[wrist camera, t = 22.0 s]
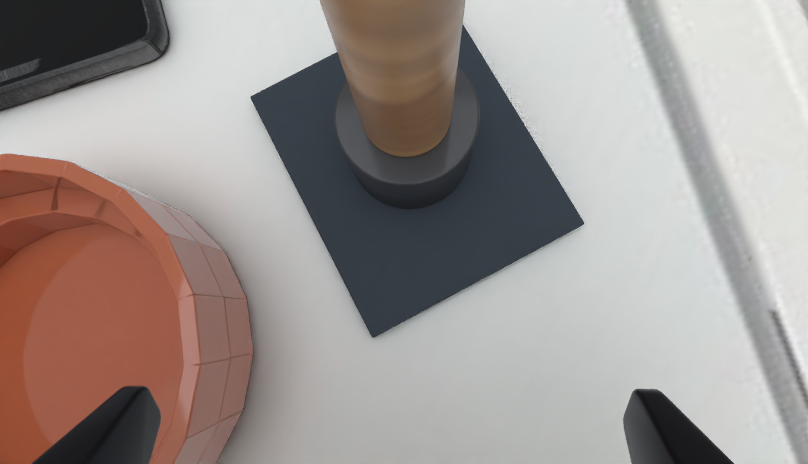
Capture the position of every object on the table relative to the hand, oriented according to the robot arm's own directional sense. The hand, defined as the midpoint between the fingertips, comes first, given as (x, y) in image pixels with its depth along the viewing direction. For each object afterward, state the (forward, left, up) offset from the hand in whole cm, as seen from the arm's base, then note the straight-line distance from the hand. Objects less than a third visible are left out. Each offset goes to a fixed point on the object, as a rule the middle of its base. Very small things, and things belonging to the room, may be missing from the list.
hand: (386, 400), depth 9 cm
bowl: (+6, +12, -12) cm, 18 cm away
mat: (+7, -4, -12) cm, 14 cm away
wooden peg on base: (+8, -4, -11) cm, 14 cm away
